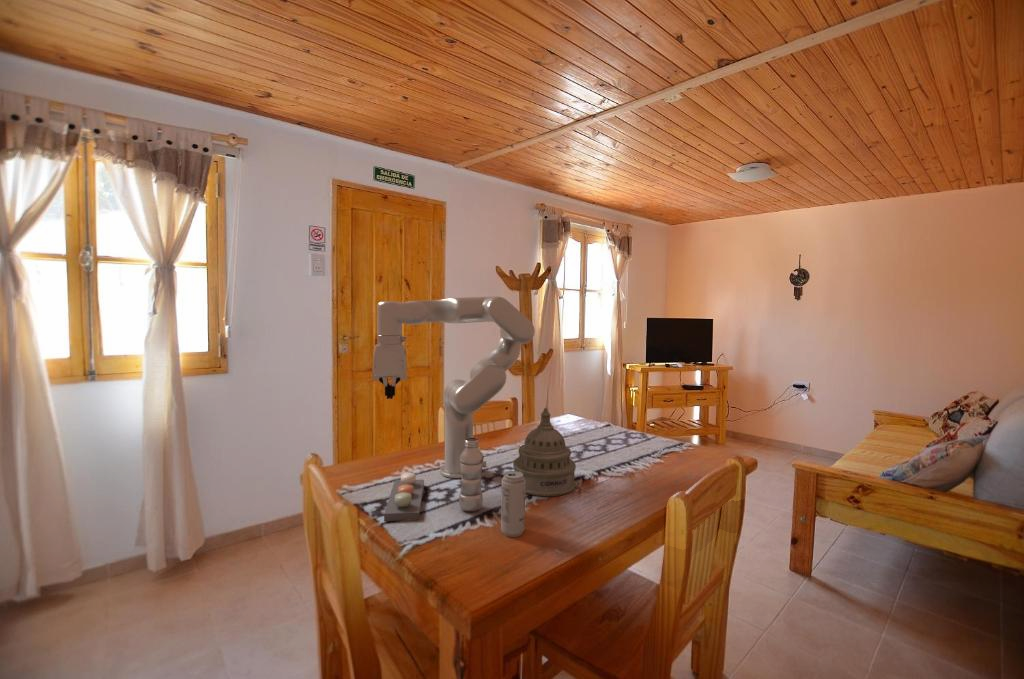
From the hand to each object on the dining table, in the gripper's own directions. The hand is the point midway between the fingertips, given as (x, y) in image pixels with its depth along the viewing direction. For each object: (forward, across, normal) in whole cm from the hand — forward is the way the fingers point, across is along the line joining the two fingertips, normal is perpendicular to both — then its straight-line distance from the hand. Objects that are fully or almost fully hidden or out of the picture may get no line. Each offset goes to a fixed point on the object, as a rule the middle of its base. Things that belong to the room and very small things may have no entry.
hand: (390, 397), depth 147 cm
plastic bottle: (+27, -25, +23) cm, 44 cm away
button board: (+27, -6, +16) cm, 32 cm away
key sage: (+24, -6, +24) cm, 35 cm away
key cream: (+25, -6, +9) cm, 27 cm away
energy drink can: (+27, -35, +37) cm, 58 cm away
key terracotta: (+26, -6, +16) cm, 31 cm away
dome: (+27, -49, +7) cm, 57 cm away
